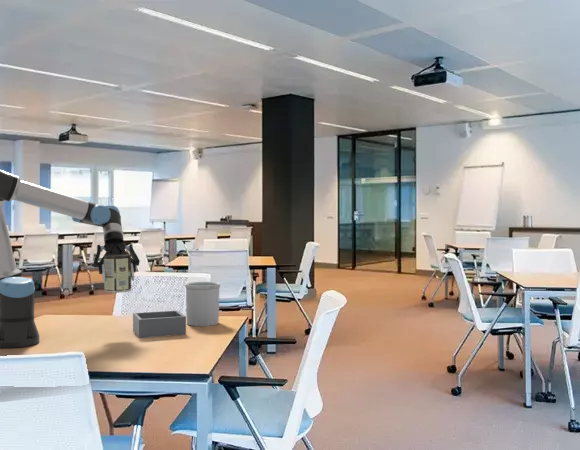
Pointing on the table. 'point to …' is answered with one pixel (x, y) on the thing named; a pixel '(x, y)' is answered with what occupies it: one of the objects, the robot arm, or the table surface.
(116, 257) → the coffee can
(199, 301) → the utensil holder
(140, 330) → the bin
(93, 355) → the table surface
